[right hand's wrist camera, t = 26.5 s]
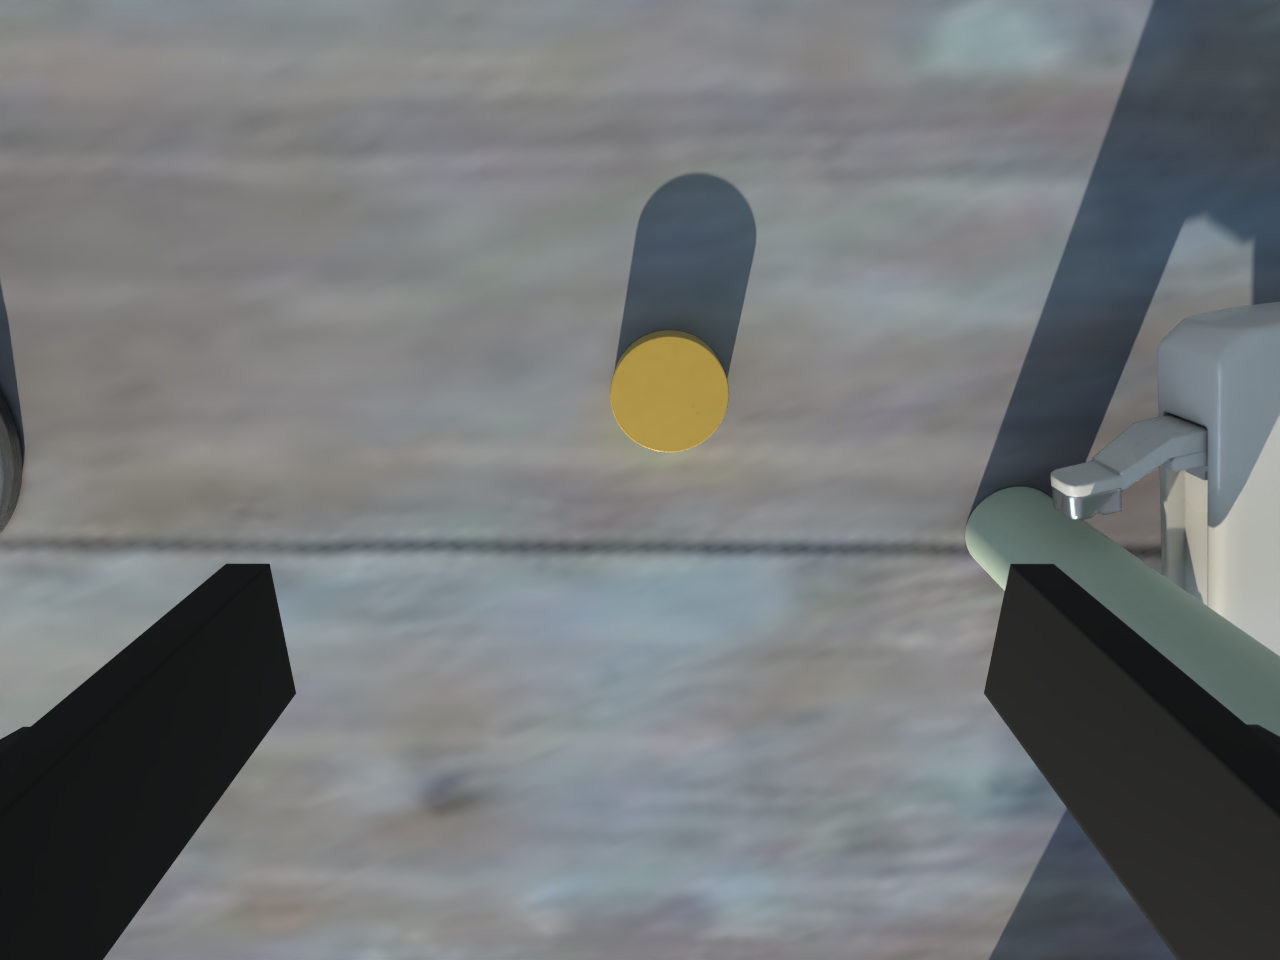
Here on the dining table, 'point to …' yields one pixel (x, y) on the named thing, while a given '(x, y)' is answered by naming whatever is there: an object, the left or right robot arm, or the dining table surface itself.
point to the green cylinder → (1130, 598)
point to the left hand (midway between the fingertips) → (1066, 600)
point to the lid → (669, 391)
